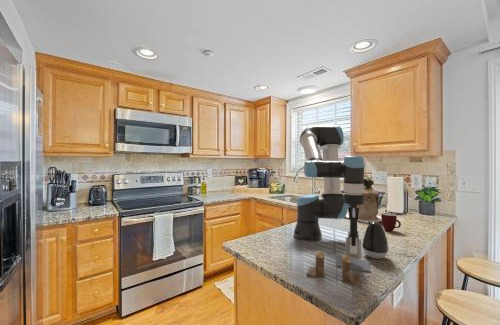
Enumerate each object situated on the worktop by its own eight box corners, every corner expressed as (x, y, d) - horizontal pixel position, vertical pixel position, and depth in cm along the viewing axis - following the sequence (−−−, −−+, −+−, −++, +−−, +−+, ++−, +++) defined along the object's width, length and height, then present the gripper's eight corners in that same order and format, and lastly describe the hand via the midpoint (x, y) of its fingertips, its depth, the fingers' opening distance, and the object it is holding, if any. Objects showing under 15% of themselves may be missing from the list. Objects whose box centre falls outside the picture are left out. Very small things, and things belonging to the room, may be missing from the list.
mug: (402, 231, 142) (402, 215, 142) (399, 234, 136) (399, 217, 136) (383, 228, 149) (383, 212, 149) (379, 230, 144) (379, 214, 144)
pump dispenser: (379, 251, 109) (379, 219, 109) (393, 261, 99) (393, 225, 99) (357, 252, 109) (358, 219, 109) (370, 261, 98) (370, 225, 98)
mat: (336, 266, 93) (336, 265, 93) (338, 257, 102) (338, 256, 102) (370, 272, 88) (370, 271, 88) (368, 262, 98) (368, 260, 98)
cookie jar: (369, 224, 158) (369, 177, 158) (339, 217, 179) (339, 175, 179) (390, 220, 170) (390, 176, 170) (360, 213, 192) (360, 174, 191)
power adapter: (358, 259, 92) (358, 229, 92) (345, 255, 96) (345, 226, 96) (361, 257, 94) (362, 227, 94) (348, 253, 98) (348, 224, 98)
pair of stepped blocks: (306, 276, 85) (306, 255, 85) (309, 268, 92) (309, 248, 92) (359, 286, 79) (359, 263, 78) (358, 276, 85) (359, 256, 85)
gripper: (365, 197, 86) (364, 260, 86) (362, 191, 102) (362, 245, 102) (343, 195, 89) (342, 257, 89) (344, 191, 105) (343, 243, 105)
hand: (353, 250), depth 95 cm, fingers closed on power adapter, 5 cm apart
